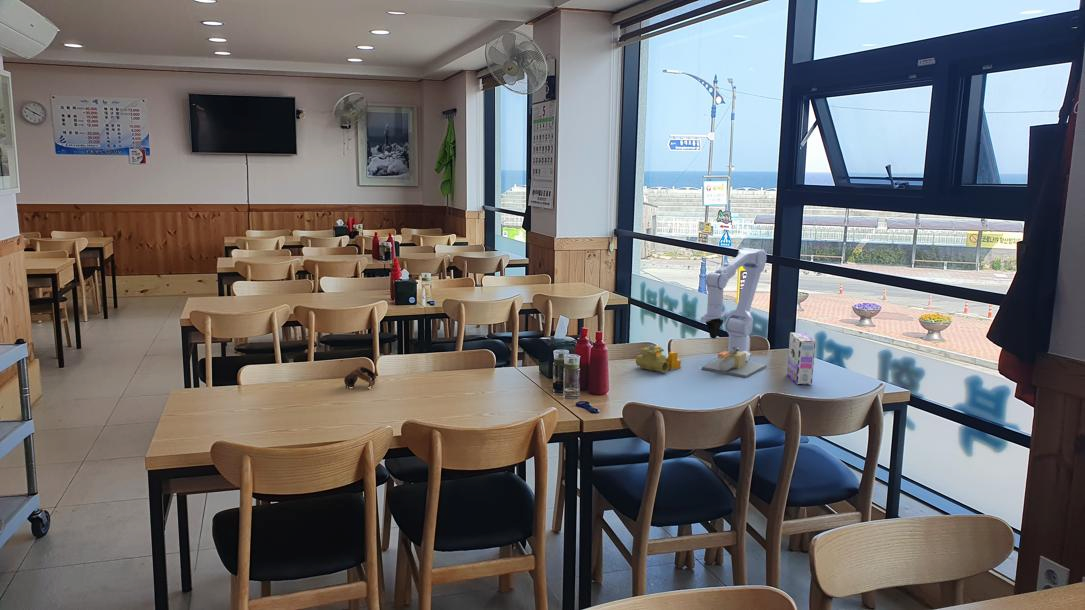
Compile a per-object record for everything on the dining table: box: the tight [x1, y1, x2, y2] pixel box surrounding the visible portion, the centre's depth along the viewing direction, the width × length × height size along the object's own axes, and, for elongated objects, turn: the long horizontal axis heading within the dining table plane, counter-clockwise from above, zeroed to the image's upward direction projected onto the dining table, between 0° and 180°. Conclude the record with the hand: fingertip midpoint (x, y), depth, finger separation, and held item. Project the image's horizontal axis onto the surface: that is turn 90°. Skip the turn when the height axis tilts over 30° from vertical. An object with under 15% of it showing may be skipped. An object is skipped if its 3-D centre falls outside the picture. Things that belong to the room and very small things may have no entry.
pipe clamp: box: [654, 345, 682, 370], centre depth 317 cm, size 12×4×6 cm, turn 31°
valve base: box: [701, 351, 767, 379], centre depth 314 cm, size 19×18×7 cm
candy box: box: [786, 332, 817, 386], centre depth 299 cm, size 14×6×16 cm, turn 178°
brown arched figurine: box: [344, 366, 377, 388], centre depth 282 cm, size 12×10×8 cm
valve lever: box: [717, 347, 739, 359], centre depth 309 cm, size 14×3×1 cm, turn 142°
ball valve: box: [635, 344, 670, 374], centre depth 310 cm, size 13×10×10 cm
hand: (713, 337), depth 319 cm, fingers closed
